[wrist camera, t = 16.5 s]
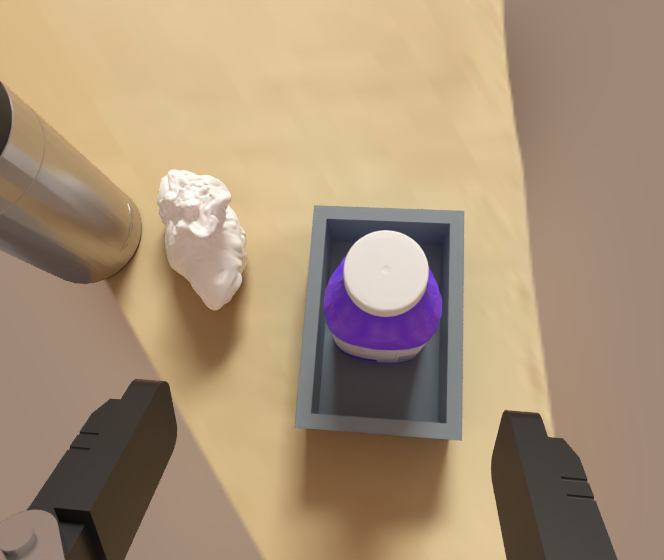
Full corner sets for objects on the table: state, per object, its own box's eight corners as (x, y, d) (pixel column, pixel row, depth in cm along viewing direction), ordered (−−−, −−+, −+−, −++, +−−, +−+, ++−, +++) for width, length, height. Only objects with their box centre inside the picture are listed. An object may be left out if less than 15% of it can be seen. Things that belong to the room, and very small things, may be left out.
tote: (306, 426, 41) (294, 427, 35) (322, 233, 45) (314, 205, 39) (449, 437, 40) (461, 440, 34) (452, 238, 44) (464, 211, 38)
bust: (251, 315, 46) (309, 246, 38) (169, 339, 41) (215, 266, 33) (197, 203, 49) (240, 118, 41) (116, 214, 45) (145, 119, 36)
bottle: (428, 298, 42) (463, 216, 25) (424, 370, 41) (459, 334, 24) (337, 291, 43) (313, 207, 26) (330, 361, 41) (300, 321, 25)
